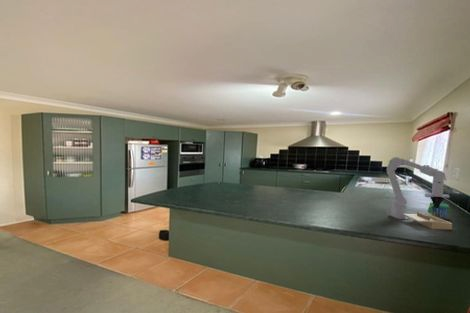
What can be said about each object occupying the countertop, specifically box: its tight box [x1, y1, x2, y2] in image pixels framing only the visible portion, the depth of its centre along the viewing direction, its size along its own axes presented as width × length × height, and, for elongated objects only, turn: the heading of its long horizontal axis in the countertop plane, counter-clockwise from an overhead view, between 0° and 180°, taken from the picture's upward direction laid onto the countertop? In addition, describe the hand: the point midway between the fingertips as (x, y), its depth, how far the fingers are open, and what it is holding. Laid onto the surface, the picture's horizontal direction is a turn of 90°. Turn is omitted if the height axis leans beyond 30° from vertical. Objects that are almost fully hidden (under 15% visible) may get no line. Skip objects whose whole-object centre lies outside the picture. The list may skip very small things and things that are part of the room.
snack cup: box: [427, 201, 451, 220], centre depth 170 cm, size 16×10×10 cm
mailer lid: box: [402, 211, 439, 223], centre depth 154 cm, size 16×12×3 cm
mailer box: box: [413, 215, 453, 230], centre depth 154 cm, size 16×12×4 cm
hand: (436, 207), depth 158 cm, fingers closed
